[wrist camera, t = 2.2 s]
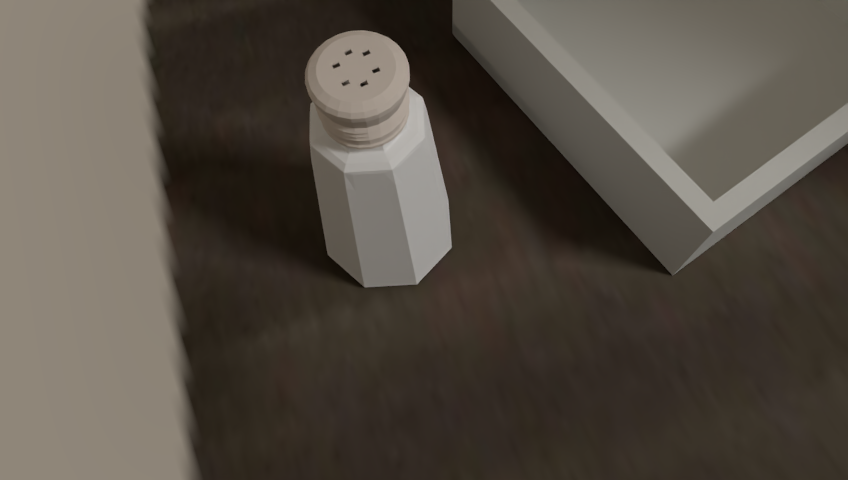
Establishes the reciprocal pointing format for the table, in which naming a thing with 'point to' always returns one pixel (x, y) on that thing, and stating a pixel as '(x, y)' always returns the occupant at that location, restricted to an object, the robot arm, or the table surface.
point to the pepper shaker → (375, 162)
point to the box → (674, 100)
